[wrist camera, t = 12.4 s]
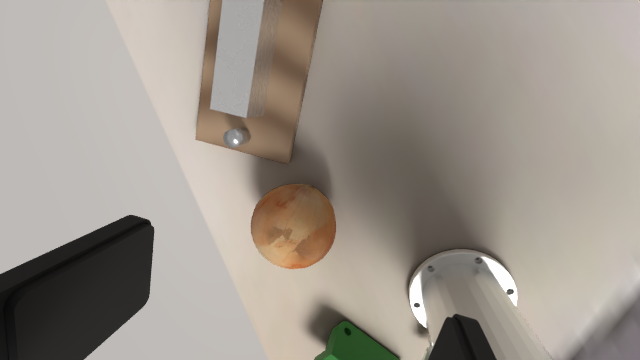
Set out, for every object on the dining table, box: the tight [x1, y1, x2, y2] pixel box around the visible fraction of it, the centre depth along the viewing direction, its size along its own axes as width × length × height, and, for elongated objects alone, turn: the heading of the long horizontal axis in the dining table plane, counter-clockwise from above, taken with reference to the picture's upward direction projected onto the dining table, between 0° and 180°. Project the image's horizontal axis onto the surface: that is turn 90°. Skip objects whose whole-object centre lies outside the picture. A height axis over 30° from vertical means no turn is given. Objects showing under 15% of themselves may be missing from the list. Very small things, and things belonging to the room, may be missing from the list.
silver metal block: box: [210, 0, 282, 118], centre depth 31 cm, size 4×12×5 cm, turn 167°
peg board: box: [196, 0, 323, 164], centre depth 33 cm, size 22×12×4 cm, turn 167°
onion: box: [251, 184, 336, 269], centre depth 34 cm, size 10×10×10 cm
